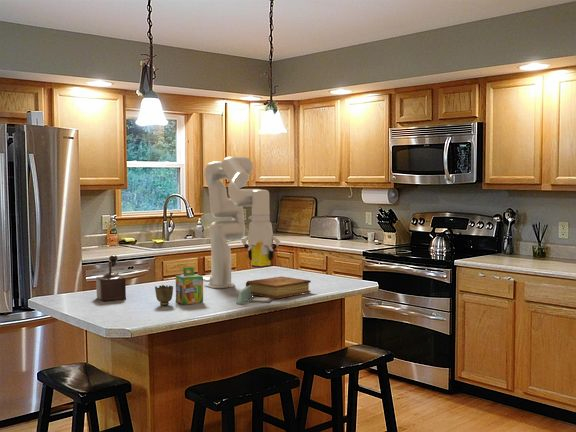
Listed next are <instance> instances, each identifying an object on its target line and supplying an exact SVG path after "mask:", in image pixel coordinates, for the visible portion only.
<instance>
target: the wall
mask: <svg viewBox="0 0 576 432" xmlns="http://www.w3.org/2000/svg"><path fill="white" fill-rule="evenodd" d="M237 296H238V299H237V300H238V301H236V303H235V304H236V305H245V302H246V301H247V300H249V299H250V298H253V297H254V295H253V294H251V285H248V286H247V287H246V286H245V287H244V288H242V289H240V290H239V291H238V295H237ZM252 296H253V297H252ZM249 297H250V298H249ZM248 298H249V299H248ZM245 300H246V301H245Z"/></svg>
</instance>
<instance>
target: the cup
mask: <svg viewBox="0 0 576 432" xmlns="http://www.w3.org/2000/svg"><path fill="white" fill-rule="evenodd" d="M154 289H155V297H156V300H157V301H158V302H159V305H160V306H162V307H167V306H169V304H170V303H169V302H171V300H172V298H173V295H174V293H173V292H174V285H171V284H170V285H169V286H168V285H164V284H162V285H159V286H157V285H156V286H154Z"/></svg>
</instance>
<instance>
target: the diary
mask: <svg viewBox="0 0 576 432" xmlns="http://www.w3.org/2000/svg"><path fill="white" fill-rule="evenodd" d="M310 284H311V280H308V279H303V278H294V277H288V276H275V277H269V278H267V277H266V278H263V279H262V278H261V279H254V280H253V279H252V280H246V282H245V287H247V286H248V285H251V295H253V296H258V297H270V298H274V299H281V298H288V297H293V295H294V296H299V295H298V294H300V295H303V294H302V293H306V292H311V290H310V289H309V288H310V287H309V285H310ZM306 294H307V293H306Z"/></svg>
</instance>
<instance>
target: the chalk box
mask: <svg viewBox="0 0 576 432" xmlns="http://www.w3.org/2000/svg"><path fill="white" fill-rule="evenodd" d="M187 271H190V273H189V272H187ZM194 271H195V270H194V267H192V266H189V267H183V268H182V272H183V273H182V274H176V275H175V303H178V304H181V305H183V306H186V305H196V304H204V281H203V278H204V276H203V275H200V274H196V273H195V272H194Z"/></svg>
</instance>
